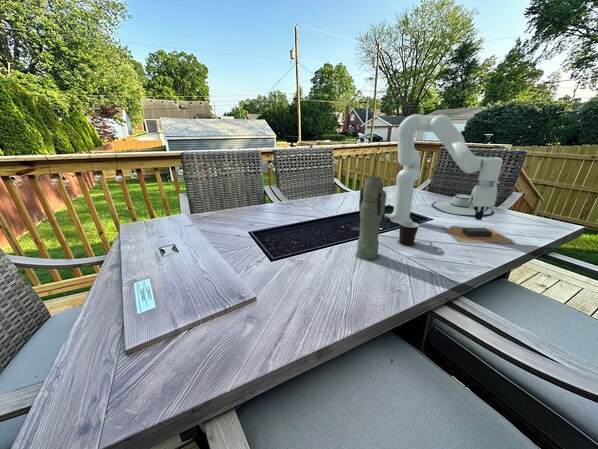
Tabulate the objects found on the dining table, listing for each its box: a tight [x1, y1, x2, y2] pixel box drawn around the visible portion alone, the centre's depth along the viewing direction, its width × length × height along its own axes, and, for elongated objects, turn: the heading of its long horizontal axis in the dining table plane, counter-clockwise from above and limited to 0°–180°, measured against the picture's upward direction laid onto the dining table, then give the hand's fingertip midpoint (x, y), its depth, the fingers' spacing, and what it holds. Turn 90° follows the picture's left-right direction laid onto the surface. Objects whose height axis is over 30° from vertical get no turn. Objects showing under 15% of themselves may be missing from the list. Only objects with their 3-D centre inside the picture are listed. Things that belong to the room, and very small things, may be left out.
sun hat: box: [431, 193, 494, 217], centre depth 172 cm, size 36×36×9 cm
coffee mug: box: [398, 221, 420, 247], centre depth 121 cm, size 12×9×10 cm
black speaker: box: [462, 226, 492, 237], centre depth 128 cm, size 3×6×11 cm
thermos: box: [356, 175, 387, 261], centre depth 105 cm, size 9×12×35 cm
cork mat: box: [444, 227, 513, 244], centre depth 129 cm, size 24×18×1 cm
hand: (477, 219), depth 126 cm, fingers closed
